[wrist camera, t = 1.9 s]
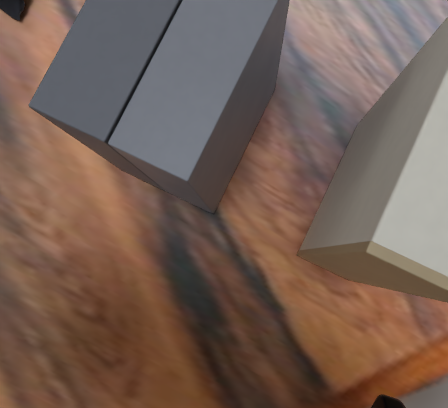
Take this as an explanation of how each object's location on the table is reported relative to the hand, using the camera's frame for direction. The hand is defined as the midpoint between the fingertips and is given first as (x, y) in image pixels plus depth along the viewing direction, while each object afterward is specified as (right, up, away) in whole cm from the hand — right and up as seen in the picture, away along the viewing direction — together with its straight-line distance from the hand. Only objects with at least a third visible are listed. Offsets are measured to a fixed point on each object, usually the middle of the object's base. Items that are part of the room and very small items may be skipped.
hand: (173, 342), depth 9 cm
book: (+8, +3, +13) cm, 16 cm away
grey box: (0, +7, +14) cm, 16 cm away
